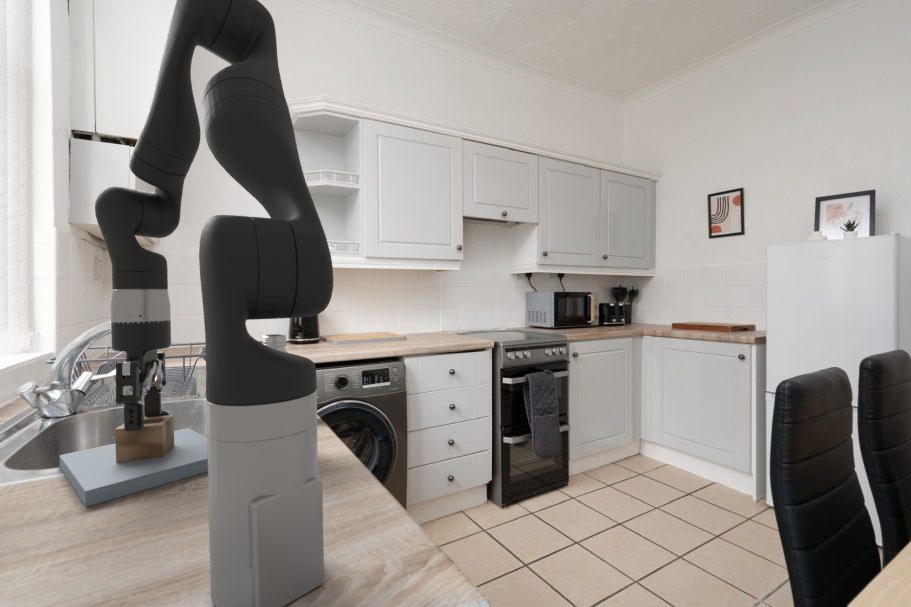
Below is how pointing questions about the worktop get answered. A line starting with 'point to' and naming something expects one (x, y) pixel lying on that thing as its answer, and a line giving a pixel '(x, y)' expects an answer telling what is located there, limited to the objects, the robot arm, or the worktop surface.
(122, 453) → the tan hollow open box
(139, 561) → the worktop surface
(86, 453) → the flat blue-gray panel
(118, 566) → the worktop surface
